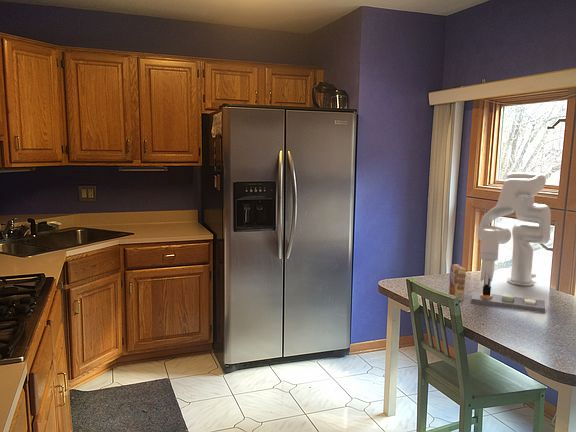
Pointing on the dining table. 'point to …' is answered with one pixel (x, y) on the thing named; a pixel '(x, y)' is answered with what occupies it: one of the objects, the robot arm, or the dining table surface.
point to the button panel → (516, 304)
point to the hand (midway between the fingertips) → (486, 294)
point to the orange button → (486, 296)
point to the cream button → (529, 301)
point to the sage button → (507, 297)
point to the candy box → (457, 281)
